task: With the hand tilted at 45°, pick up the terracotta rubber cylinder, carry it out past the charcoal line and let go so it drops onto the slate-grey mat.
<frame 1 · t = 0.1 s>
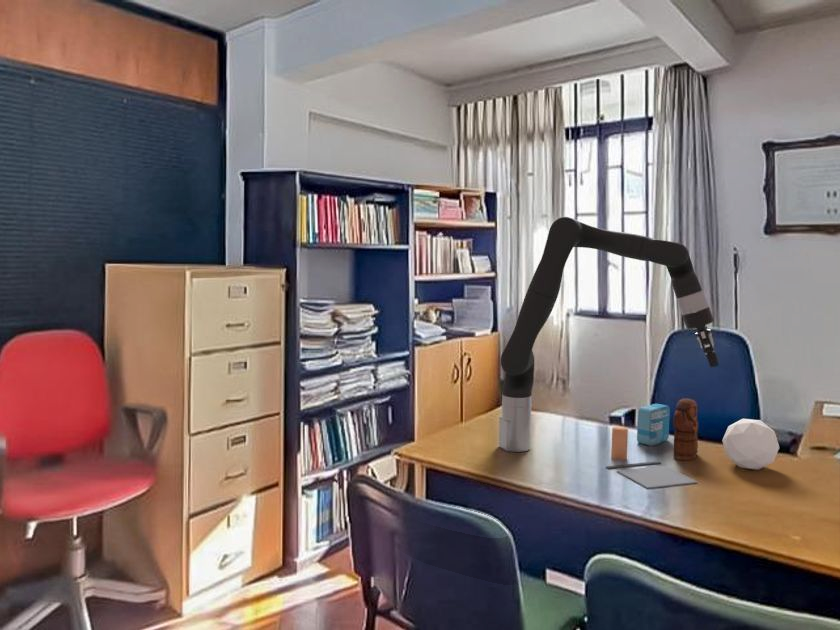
hand: (714, 364, 187), 31 cm above the table, tool tilted 20°, fingers open, 8 cm apart
wooden figurine: (685, 456, 205), on the table
data package: (652, 442, 220), on the table
throwing cylinder: (618, 458, 202), on the table
geometric sphere: (748, 467, 195), on the table
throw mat: (656, 477, 185), on the table
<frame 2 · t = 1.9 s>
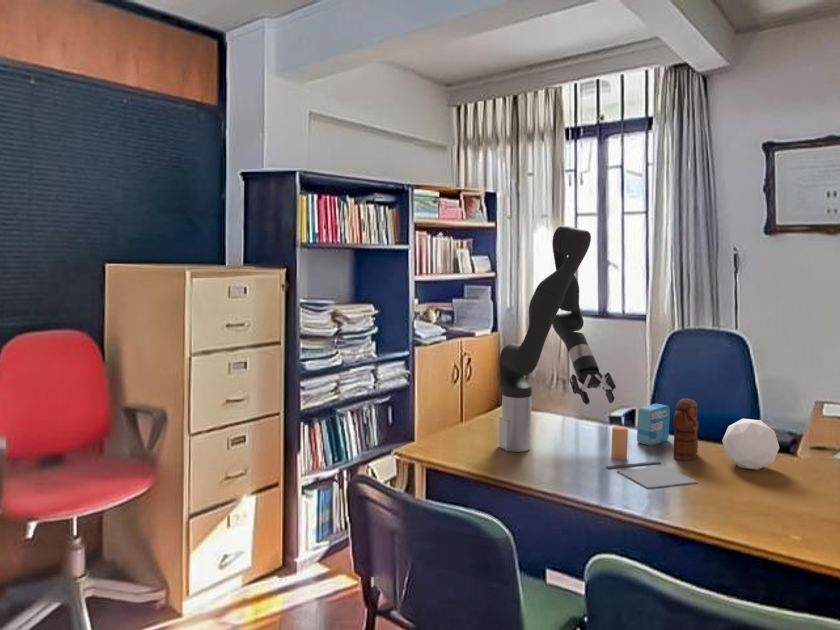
hand: (600, 402, 212), 15 cm above the table, tool tilted 45°, fingers open, 8 cm apart
nothing on the table moved.
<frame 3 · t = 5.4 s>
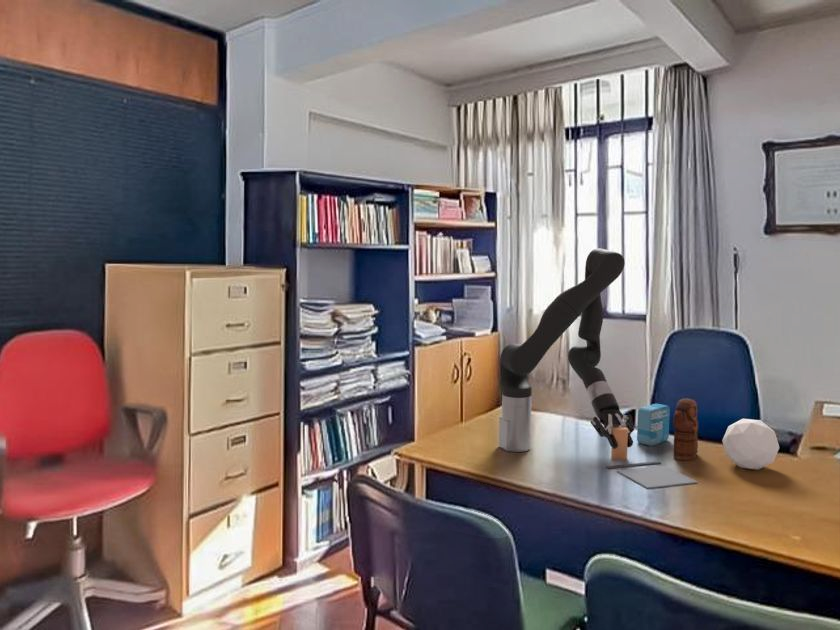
hand: (623, 446, 200), 4 cm above the table, tool tilted 45°, fingers closed on throwing cylinder, 4 cm apart
throwing cylinder: (618, 458, 202), on the table, touching gripper
everything else where it was.
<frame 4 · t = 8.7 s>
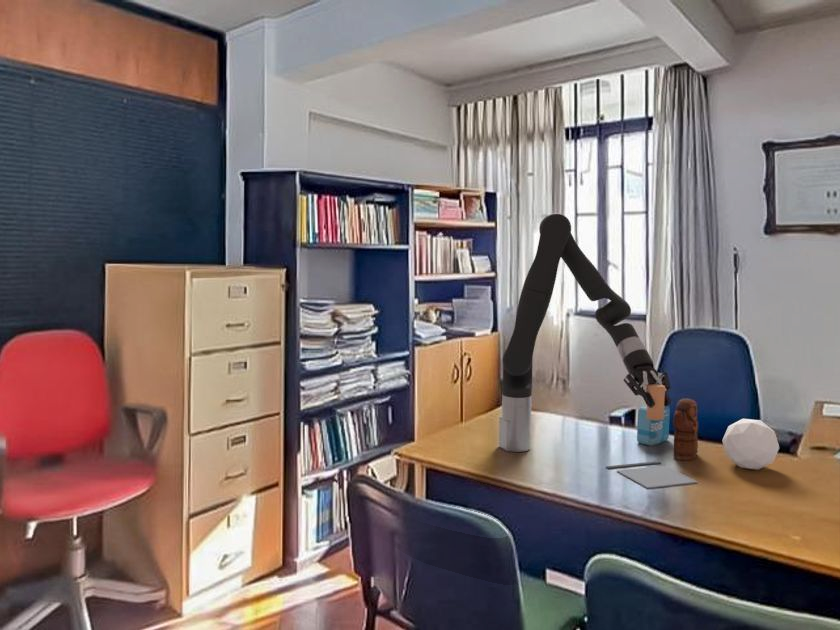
hand: (660, 405, 184), 20 cm above the table, tool tilted 45°, fingers closed on throwing cylinder, 4 cm apart
throwing cylinder: (655, 418, 186), point 16 cm above the table, touching gripper
everything else where it was.
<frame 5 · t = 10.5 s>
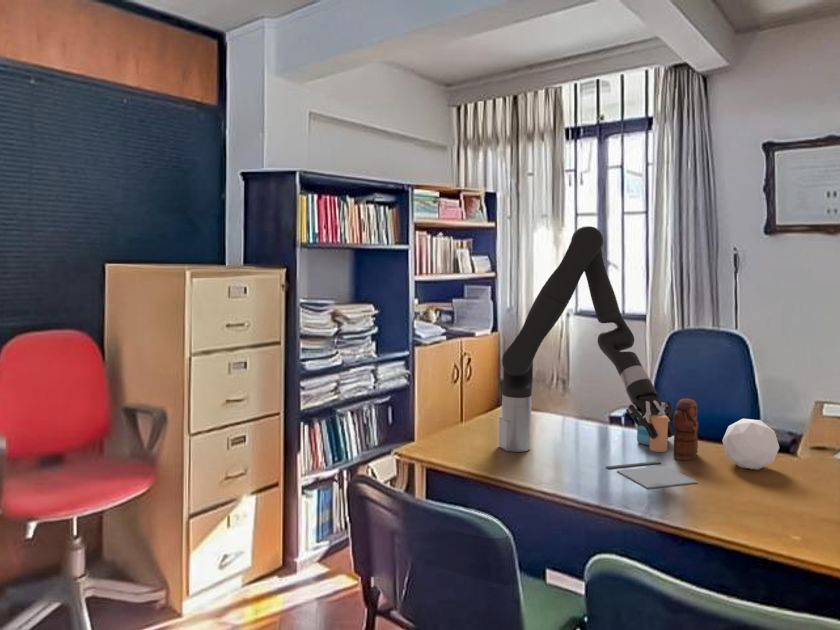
hand: (663, 436, 182), 12 cm above the table, tool tilted 45°, fingers closed on throwing cylinder, 4 cm apart
throwing cylinder: (658, 449, 185), point 8 cm above the table, touching gripper
everything else where it was.
when the fingers open (7 cm above the table, at t = 11.9 s): throwing cylinder drops 2 cm, resting on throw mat.
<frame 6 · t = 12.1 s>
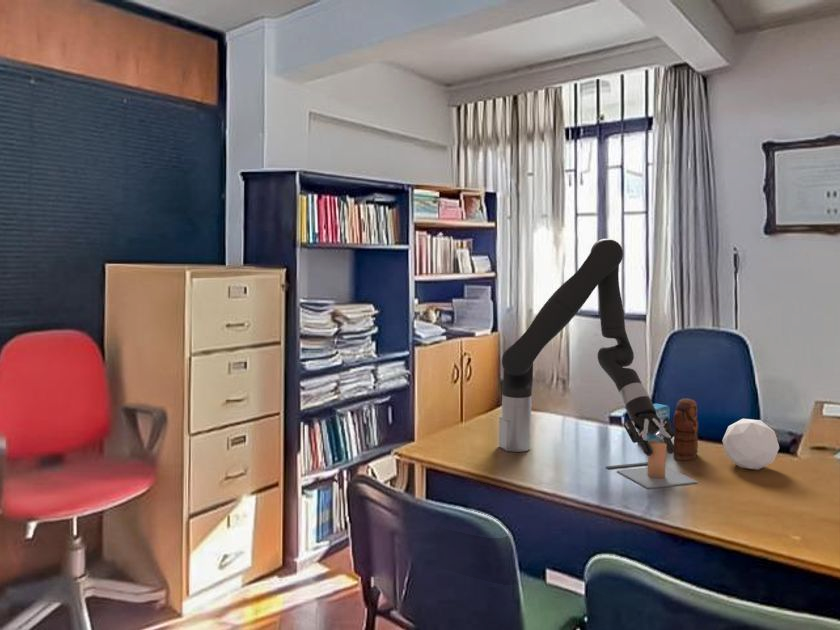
hand: (661, 453, 183), 7 cm above the table, tool tilted 45°, fingers open, 6 cm apart
throwing cylinder: (656, 475, 185), resting on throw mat
everything else where it was.
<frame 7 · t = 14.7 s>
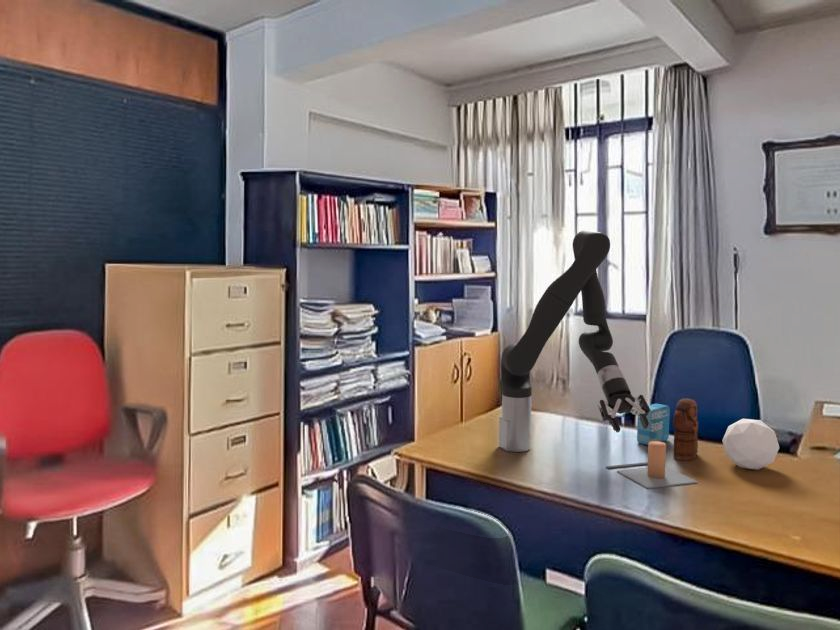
hand: (632, 429, 194), 11 cm above the table, tool tilted 45°, fingers open, 8 cm apart
nothing on the table moved.
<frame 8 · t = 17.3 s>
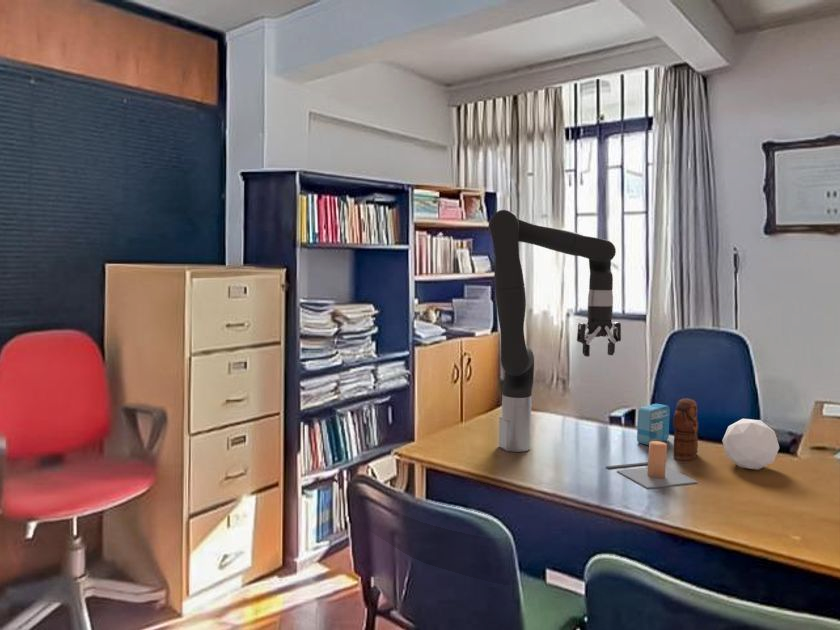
hand: (598, 355, 208), 30 cm above the table, tool pointing down, fingers open, 8 cm apart
nothing on the table moved.
at the end: throwing cylinder inside the target area (0.4 cm from its centre), resting on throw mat; the gripper is holding nothing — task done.
